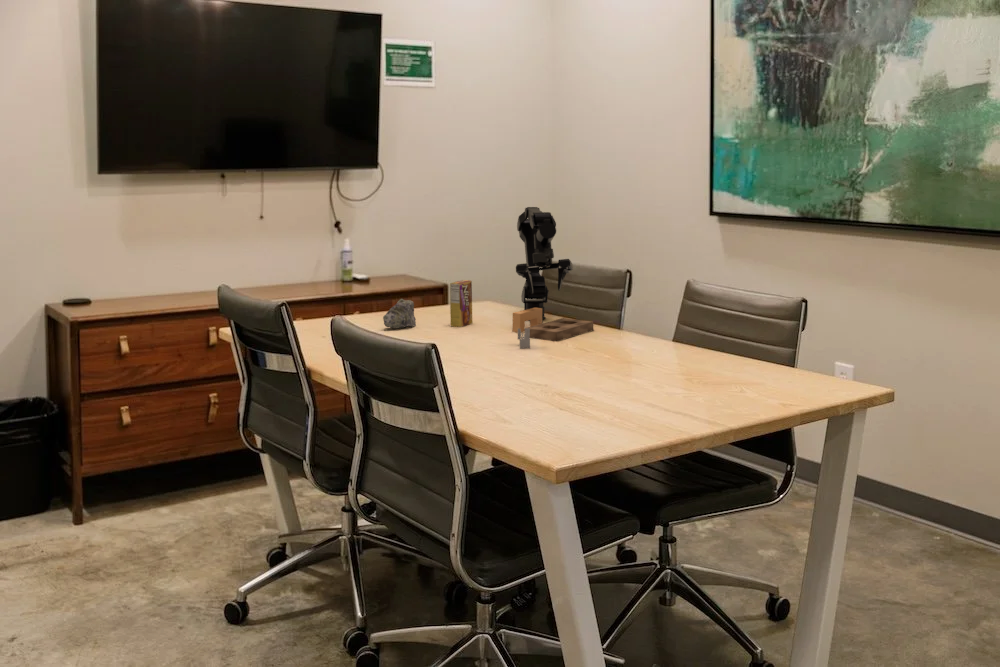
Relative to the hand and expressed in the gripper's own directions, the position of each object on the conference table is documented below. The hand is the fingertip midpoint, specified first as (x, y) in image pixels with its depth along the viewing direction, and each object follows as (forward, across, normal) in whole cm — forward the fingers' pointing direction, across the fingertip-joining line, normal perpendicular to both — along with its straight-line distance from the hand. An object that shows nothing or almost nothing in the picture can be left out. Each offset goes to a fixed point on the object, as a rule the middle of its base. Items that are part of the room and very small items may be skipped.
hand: (545, 291), depth 348 cm
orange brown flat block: (+11, -8, +5) cm, 15 cm away
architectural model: (+23, -9, -23) cm, 34 cm away
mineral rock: (+8, -51, -4) cm, 52 cm away
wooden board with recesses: (+15, +4, +1) cm, 15 cm away
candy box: (+7, -32, +6) cm, 33 cm away
